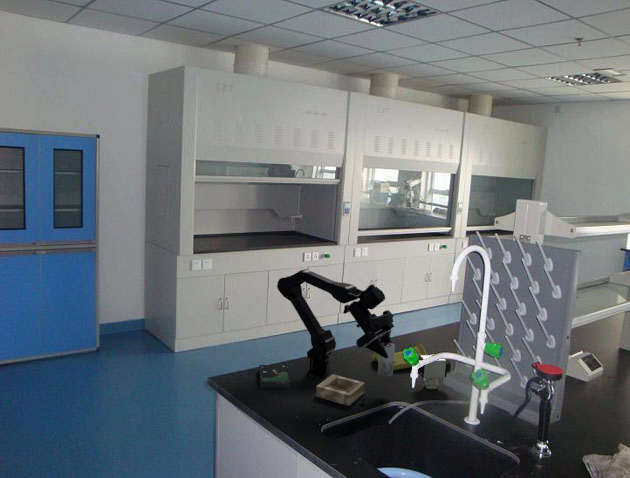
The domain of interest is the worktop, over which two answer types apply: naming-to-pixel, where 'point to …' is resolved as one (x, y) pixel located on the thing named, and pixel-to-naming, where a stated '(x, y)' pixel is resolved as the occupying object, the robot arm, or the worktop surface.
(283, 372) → the disk drive
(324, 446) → the worktop surface
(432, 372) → the pneumatic valve
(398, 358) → the plastic component
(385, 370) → the bushing
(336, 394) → the square wooden tray
